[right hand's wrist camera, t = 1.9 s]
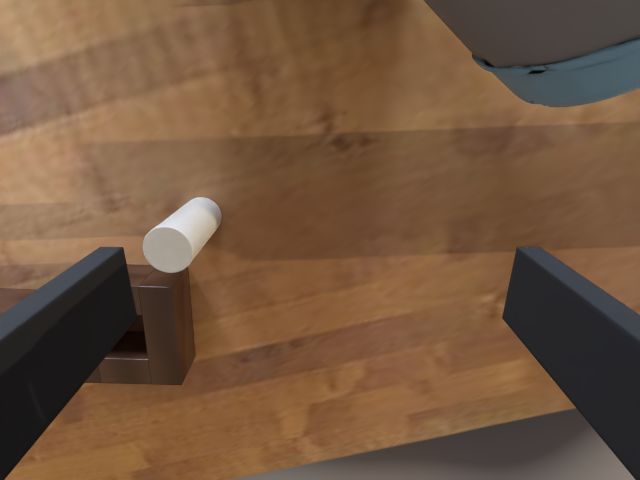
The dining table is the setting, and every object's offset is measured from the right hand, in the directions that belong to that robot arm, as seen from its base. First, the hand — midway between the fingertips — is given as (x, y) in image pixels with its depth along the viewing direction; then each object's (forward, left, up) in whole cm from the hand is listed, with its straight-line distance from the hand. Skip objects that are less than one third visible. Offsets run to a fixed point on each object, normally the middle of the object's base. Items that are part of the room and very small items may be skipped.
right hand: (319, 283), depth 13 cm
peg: (+6, -12, -27) cm, 30 cm away
